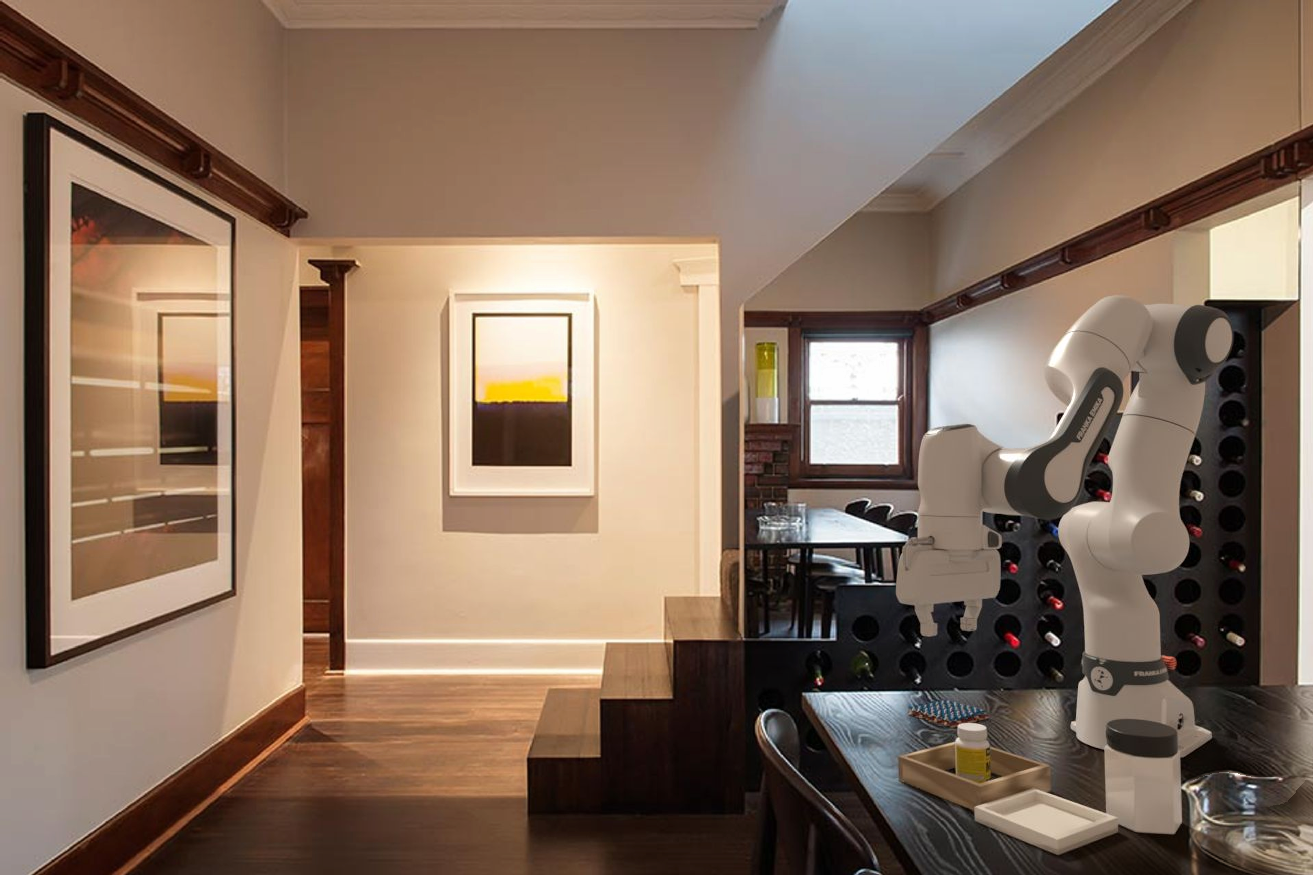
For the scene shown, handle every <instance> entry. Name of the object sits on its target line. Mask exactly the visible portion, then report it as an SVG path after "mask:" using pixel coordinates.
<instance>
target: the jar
mask: <svg viewBox="0 0 1313 875" xmlns="http://www.w3.org/2000/svg"><path fill="white" fill-rule="evenodd" d="M1106 738H1107V745H1106V746H1105V750H1104V779H1105V780H1104V782H1105V785H1104V786H1105V809H1106V810H1105V813H1106V814H1109V815H1112V816H1115V817H1118V826H1121V827H1123V828H1126V829H1127V830H1130V831H1132V832H1134V833H1140V834H1141V833H1142V834H1159V835H1175V834H1176V832H1177V831H1178V829H1179V828H1180V826H1181V824H1182V823H1183V816H1182V814H1183V813H1182V812H1183V809H1182V808H1183V807H1182V782H1181V781H1182V775H1181V774H1182V773H1181V757H1180V750H1179V749H1178V733H1177V731H1176V730H1175V729H1174V728H1172V727H1170V726H1168V725H1165V724H1162V723H1158V722H1154V721H1148V720H1140V719H1117V720H1112V721H1109V722H1108V723H1107V724H1106Z"/></svg>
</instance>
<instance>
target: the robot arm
mask: <svg viewBox="0 0 1313 875" xmlns="http://www.w3.org/2000/svg"><path fill="white" fill-rule="evenodd" d="M1234 336H1235V332H1234V328H1233V325H1232V322H1231V320H1230V318H1229V317H1228V315H1227V314H1226V312H1225V311H1224V310H1221V309H1219V308H1215V307H1213V306H1207V305H1204V304H1195V305H1186V304H1179V303H1177V304H1176V303H1161V302H1160V303H1154V304H1143V303H1142V302H1141V301H1139V300H1137V299H1135V298H1134V297H1130V296H1127V295H1123V294H1122V295H1121V294H1115V295H1114V294H1113V295H1108V296H1106V297H1103V298H1101V299H1099V300H1098V301H1097V302H1096V303H1095V304H1093V305H1092V306H1090V307H1089V309H1087V310H1086V311H1085V312H1084V313H1083V314H1082V315H1081V316H1080V317H1079V318H1078V319H1076V321H1075V322H1073V324H1072V325H1071V326H1070V327H1069V328H1068V330H1067V331H1066V333H1064V335H1063V336H1062V337H1061V339H1060V340H1059V341H1058V342H1057V344H1056V345H1055V346H1054V348H1053V349H1052V351H1051V353H1050V354H1049V356H1048V357H1047V360H1046V362H1045V365H1044V377H1045V381H1046V384H1047V387H1048V388H1049V390H1050V391H1051V393H1052V394H1053V395H1054V396H1055V397H1056V398H1057V399H1058V400H1059V401H1060V402H1061V403H1063V404H1064V405H1066V406H1067V408H1066V409H1065V411H1064V413H1063V415H1062V417H1060V418H1061V419H1059V421H1058V423H1057V425H1056V427H1055V429H1054V430H1053V431H1052V433H1051V435H1050V437H1049V438H1047V439H1046V440H1044V441H1043V442H1041V443H1039V444H1035V445H1033V446H1030V447H1019V448H1018V447H1017V448H1004V446H1001V445H999V444H998V443H995V442H994V441H992V440H990V439H989V438H987V437H985V435H984V434H982V433H981V432H980V431H979V430H978V427H977V425H974V424H970V423H960V424H953V425H945V426H943V425H942V426H938V427H934V428H932V429H930V430H928V431H927V432H925V433H924V435H923V437H922V439H921V442H920V446H919V447H920V448H919V454H918V463H917V464H918V465H917V466H918V467H917V468H918V469H917V471H918V472H917V486H918V490H919V494H920V502H919V503H920V504H919V507H918V511H917V537H916V536H915V537H910V538H909V539H908V540H907V542H906V543H905V544H904V545H903V546H902V549H901V550H902V551H901V552H902V553H901V554H900V557H899V560H898V565H897V574H896V583H895V584H896V586H895V595H896V598H897V600H898V602H899V603H900V604H904V605H908V606H909V605H910V606H914V612H915V614H916V616H917V619H918V621H919V623H920V634H921V636H923V637H934V636H937V635H938V623H935V622H934V618H933V614H932V613H933V612H934V605H935V604H938V605H939V604H946V603H955V602H964V603H963V604H964V606H965V611H964V614H963V617H960V618H959V619H960V629H961V631H966V632H972V631H977V628H978V618H979V616H980V613H981V610H982V608H983V600H984V599H985V600H987V599H994V598H996V597H997V596H998V594H999V591H1000V589H1001V572H1002V571H1001V567H1002V566H1001V565H1002V563H1001V562H1002V561H1001V554H1000V552H999V551H998V550H999V549H1000V548H1002V544H1003V537H1002V535H1001V534H1000V533H998V532H997V531H995V530H993V529H991V528H989V527H988V526H987V525H985V524H983V514H982V513H983V512H985V513H987V514H988V513H989V514H997V515H998V514H1002V515H1006V516H1024V517H1028V518H1034V519H1039V520H1044V521H1045V520H1046V521H1050V520H1056V519H1059V518H1061V519H1060V521H1059V524H1058V530H1057V533H1058V535H1057V536H1058V539H1059V542H1060V545H1061V546H1062V548H1063V549H1064V550H1065V552H1066V553H1067V555H1068V557H1069V559H1070V561H1071V564H1072V567H1073V571H1074V574H1075V578H1076V581H1077V585H1078V588H1079V593H1080V597H1081V603H1082V609H1083V626H1084V630H1083V631H1084V651H1083V652H1082V659H1081V666H1082V674H1083V675H1084V677H1083V679H1082V680H1080V681H1079V682H1078V688H1077V698H1076V699H1077V701H1076V713H1075V714H1076V716H1075V717H1076V718H1075V720H1074V721H1071V723H1070V729H1071V730H1072V731H1073V732H1075V733H1076V738H1077V739H1078V740H1079V741H1080V742H1082V743H1084V744H1086V745H1089V746H1091V747H1093V748H1098V749H1100V750H1104V751H1105V746H1106V745H1107V738H1106V724H1107V723H1108V722H1109V721H1112V720H1117V719H1140V720H1148V721H1154V722H1158V723H1162V724H1165V725H1168V726H1170V727H1172V728H1174V729H1175V730H1176V731H1177V733H1178V749H1179V750H1180V758H1184V757H1187V755H1189V754H1191V753H1192V752H1194V751H1195V750H1196V749H1198V748H1200V747H1202V746H1203V745H1204V744H1206V743H1207V742H1208V741H1211V739H1212V738H1213V736H1212V735H1213V734H1212V731H1210V730H1208V729H1206V728H1204V727H1202V726H1198V725H1196V721H1195V719H1196V718H1195V708H1194V704H1193V702H1192V700H1191V699H1190V698H1189V697H1188V696H1187V695H1186V694H1185V693H1183V692H1182V691H1181V690H1180V689H1178V687H1176V686H1175V685H1174V684H1173V683H1172V682H1171V681H1170V680H1169V679H1170V677H1169V672H1168V669H1169V670H1175V669H1176V667H1177V659H1176V658H1175V657H1174V656H1166V655H1164V654H1163V655H1162V654H1161V651H1162V650H1161V649H1162V647H1161V623H1160V622H1161V619H1160V617H1161V616H1160V611H1159V608H1158V605H1157V604H1156V602H1155V601H1154V599H1153V598H1152V597H1151V595H1150V594H1149V591H1148V589H1147V587H1146V585H1145V582H1144V579H1143V576H1145V575H1146V576H1147V575H1157V574H1164V573H1168V572H1171V571H1173V570H1175V569H1177V568H1178V567H1179V566H1180V565H1182V563H1183V562H1184V561H1185V559H1186V557H1187V556H1188V553H1189V548H1190V537H1189V532H1188V530H1187V527H1186V526H1185V524H1184V522H1183V520H1182V519H1181V514H1180V490H1181V483H1182V482H1181V481H1182V478H1183V473H1184V470H1185V468H1186V464H1187V461H1188V458H1189V456H1190V455H1189V454H1190V452H1191V448H1192V446H1193V443H1194V440H1195V437H1196V436H1197V431H1198V428H1199V424H1200V421H1201V417H1202V413H1203V409H1204V403H1205V402H1204V401H1205V394H1206V381H1207V380H1209V379H1210V377H1212V376H1213V374H1214V373H1215V372H1217V371H1218V370H1219V369H1220V368H1221V367H1222V366H1223V364H1224V363H1225V362H1226V360H1227V359H1228V357H1229V355H1230V354H1231V351H1232V350H1233V349H1232V348H1233V345H1234V338H1235V337H1234ZM1131 372H1139V373H1138V375H1139V376H1138V377H1139V380H1138V382H1137V384H1136V386H1135V388H1134V389H1133V391H1132V393H1131V395H1130V397H1129V399H1128V401H1127V404H1126V407H1125V408H1124V411H1123V413H1122V417H1121V419H1120V422H1119V425H1118V428H1117V431H1116V434H1115V435H1114V439H1113V441H1112V444H1111V448H1110V450H1109V453H1108V457H1107V465H1108V467H1109V469H1110V471H1111V472H1112V493H1111V498H1110V501H1109V502H1108V501H1090V502H1086V503H1081V504H1079V505H1076V503H1077V501H1078V500H1079V498H1080V495H1081V493H1082V490H1083V486H1084V482H1085V478H1086V475H1087V472H1088V469H1089V467H1090V464H1091V463H1092V460H1093V458H1094V457H1095V455H1096V454H1097V451H1098V449H1099V448H1100V445H1101V444H1102V441H1103V440H1104V438H1105V436H1106V435H1107V433H1108V431H1109V429H1110V427H1111V425H1112V424H1113V421H1114V420H1115V417H1116V416H1117V413H1118V412H1119V409H1120V408H1121V405H1122V401H1123V399H1124V392H1125V391H1124V389H1125V388H1124V385H1123V383H1124V381H1126V379H1127V377H1128V376H1129V374H1130V373H1131Z"/></svg>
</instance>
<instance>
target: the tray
mask: <svg viewBox="0 0 1313 875" xmlns="http://www.w3.org/2000/svg"><path fill="white" fill-rule="evenodd" d="M974 809H975V811H974V822H977V823H978V824H981V825H984V826H986V827H989V828H991V829H993V830H995V831H998V832H1001V833H1003V834H1005V835H1008V836H1010V837H1013V838H1016V839H1017V840H1020V841H1023V842H1024V843H1028V844H1030V845H1032V846H1035V847H1036V848H1039V849H1042V850H1044V851H1047V852H1049V853H1052V854H1055V855H1057V856H1060V855H1062V854H1065V853H1067V852H1070V851H1073V850H1075V849H1077V848H1078V849H1079V848H1080V847H1084V846H1087V845H1088V844H1092V843H1093V842H1096V841H1098V840H1101V839H1103V838H1106V837H1110V836H1112V835H1114V834H1116V833H1119V824H1118V817H1115V816H1112V815H1109V814H1106V812H1103V811H1100V810H1097V809H1094V808H1091V807H1089V806H1086V805H1083V804H1080V803H1077V802H1074V801H1071V800H1069V799H1066V798H1063V797H1060V796H1057V795H1055V794H1052V793H1050V792H1043V791H1041V790H1038V789H1035V788H1033V789H1030V790H1026V791H1023V792H1020V793H1017V794H1014V795H1011V796H1007V797H1004V798H1001V799H998V800H995V801H992V802H988V803H985V804H982V805H979V806H976V807H974Z"/></svg>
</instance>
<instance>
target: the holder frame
mask: <svg viewBox="0 0 1313 875" xmlns="http://www.w3.org/2000/svg"><path fill="white" fill-rule="evenodd" d="M897 761H898V781H899V782H902V781H904V782H906V783H905V784H907V783H908V784H907V785H909V784H911V785H910V786H912V787H914V786H915V788H917V789H919V788H920V789H919V790H921V791H924V792H927V793H929V794H932V795H934V796H936V797H939V798H941V799H944V800H947V801H948V802H952V803H954V804H957V805H958V806H961V807H964V808H967V809H970V810H971V809H972V811H973V812H975V809H974V807H976V806H979V805H982V804H985V803H988V802H992V801H995V800H998V799H1001V798H1004V797H1007V796H1011V795H1014V794H1017V793H1020V792H1023V791H1026V790H1030V789H1033V788H1035V789H1038V790H1041V791H1043V792H1046V793H1050V792H1051V791H1052V782H1051V780H1052V779H1051V777H1052V776H1051V765H1049V764H1047V763H1046V764H1045V763H1043V762H1039V761H1036V760H1034V759H1030V758H1028V757H1024V756H1021V755H1019V754H1018V755H1017V754H1015V753H1011V752H1008V751H1005V750H1002V749H1000V748H997V747H993V746H990V772H991V774H995V775H997V776H1001V777H998V778H995V779H991V780H990V781H987V782H983V783H980V784H979V783H977V782H974V781H971V780H968V779H966V778H963V777H960V776H957V775H956V773H952V772H949V770H951V769H956V757H955V741H953V742H949V743H945V744H940V745H937V746H932V747H929V748H925V749H921V750H918V751H914V752H909V753H906V754H902V755H899V756H898V759H897ZM904 782H903V783H904ZM1050 790H1051V791H1050Z"/></svg>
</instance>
